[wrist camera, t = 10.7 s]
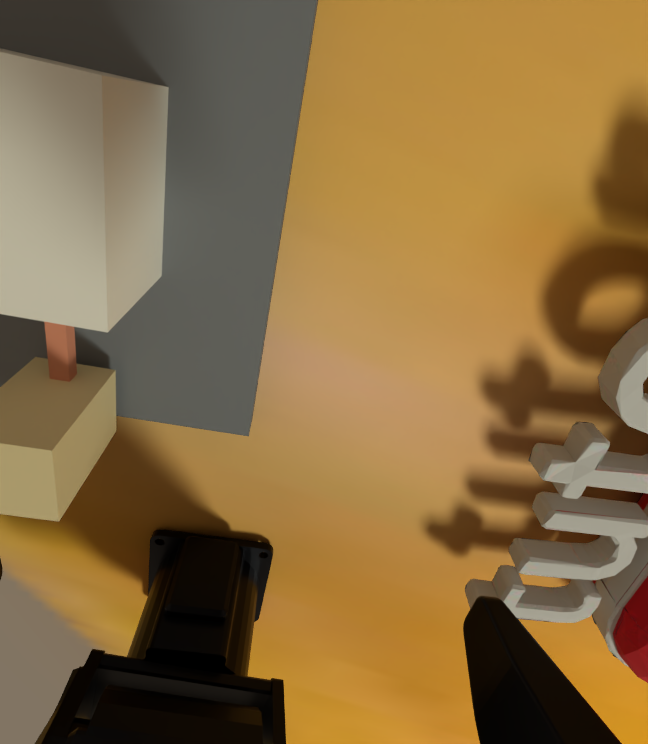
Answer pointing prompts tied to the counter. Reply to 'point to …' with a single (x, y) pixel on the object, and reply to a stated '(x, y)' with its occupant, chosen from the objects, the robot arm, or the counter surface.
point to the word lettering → (591, 523)
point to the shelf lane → (189, 191)
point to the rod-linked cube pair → (71, 258)
